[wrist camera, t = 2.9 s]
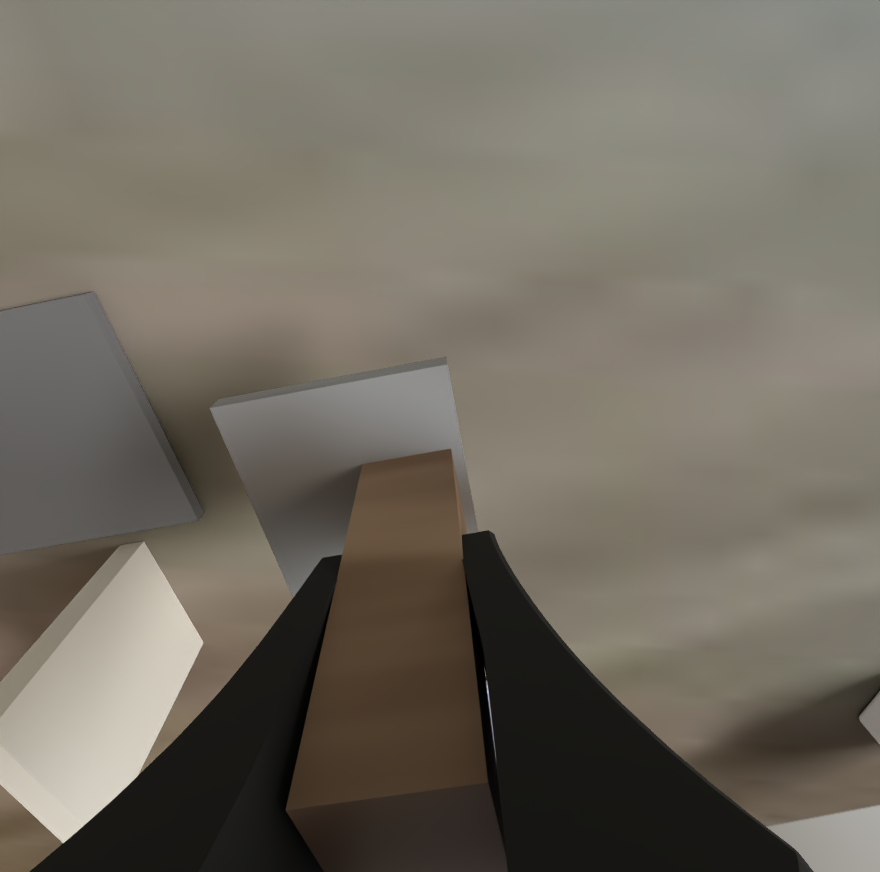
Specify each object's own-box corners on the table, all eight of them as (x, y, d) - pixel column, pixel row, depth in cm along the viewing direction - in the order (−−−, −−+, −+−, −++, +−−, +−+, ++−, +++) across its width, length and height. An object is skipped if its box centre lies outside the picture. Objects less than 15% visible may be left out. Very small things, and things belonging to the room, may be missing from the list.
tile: (203, 642, 26) (102, 847, 18) (178, 646, 26) (66, 851, 18) (143, 541, 22) (-13, 732, 14) (116, 545, 23) (-55, 739, 14)
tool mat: (203, 512, 22) (198, 520, 21) (-1, 548, 22) (-11, 556, 22) (94, 291, 17) (83, 294, 17) (-158, 342, 18) (-176, 347, 17)
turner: (483, 564, 15) (545, 940, 8) (301, 594, 16) (185, 983, 8) (446, 356, 12) (486, 642, 4) (218, 398, 12) (-112, 732, 5)
